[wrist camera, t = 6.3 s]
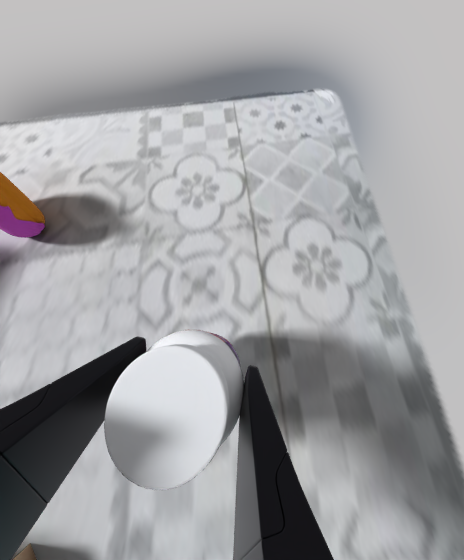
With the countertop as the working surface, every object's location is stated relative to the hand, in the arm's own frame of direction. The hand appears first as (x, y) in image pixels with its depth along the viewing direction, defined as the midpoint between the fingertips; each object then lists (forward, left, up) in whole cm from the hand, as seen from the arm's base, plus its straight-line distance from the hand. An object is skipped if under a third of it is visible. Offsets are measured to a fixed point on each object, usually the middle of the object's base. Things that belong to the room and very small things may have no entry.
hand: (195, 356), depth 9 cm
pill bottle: (-1, +1, -7) cm, 7 cm away
